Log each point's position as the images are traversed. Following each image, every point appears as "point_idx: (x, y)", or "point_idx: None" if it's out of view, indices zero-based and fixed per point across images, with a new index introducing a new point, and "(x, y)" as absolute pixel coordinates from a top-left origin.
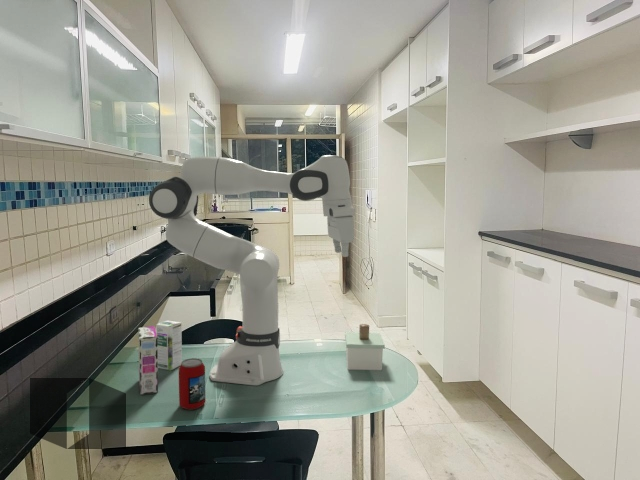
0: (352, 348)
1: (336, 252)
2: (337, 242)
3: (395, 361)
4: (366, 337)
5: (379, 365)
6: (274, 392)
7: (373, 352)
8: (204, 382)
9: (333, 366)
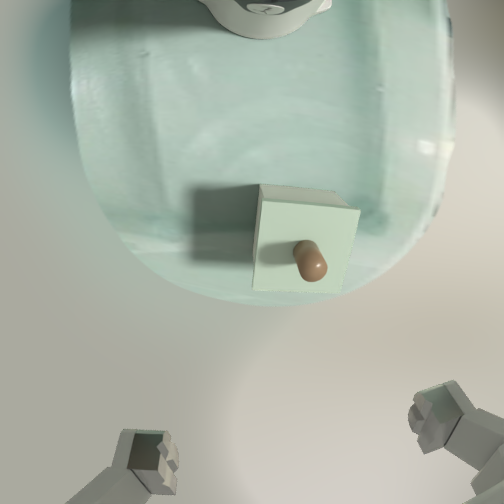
0: None
1: (417, 392)
2: (482, 454)
3: None
4: (294, 258)
5: (253, 255)
6: (156, 28)
7: None
8: None
9: (293, 156)
